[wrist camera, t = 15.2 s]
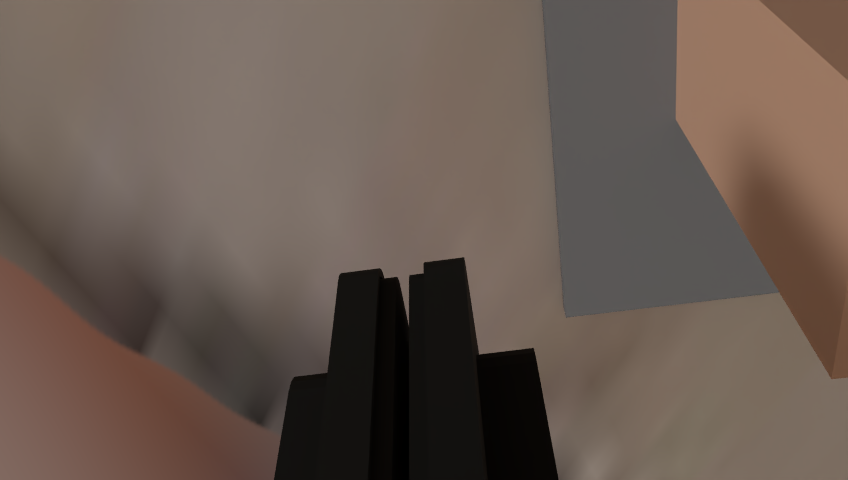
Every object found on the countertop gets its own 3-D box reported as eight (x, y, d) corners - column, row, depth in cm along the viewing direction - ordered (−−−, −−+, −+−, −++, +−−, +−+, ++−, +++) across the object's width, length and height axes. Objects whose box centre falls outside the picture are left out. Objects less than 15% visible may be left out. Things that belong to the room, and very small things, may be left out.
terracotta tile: (736, 110, 22) (930, 368, 13) (675, 119, 22) (831, 379, 14) (748, -84, 19) (1003, 88, 11) (678, -73, 19) (876, 107, 11)
